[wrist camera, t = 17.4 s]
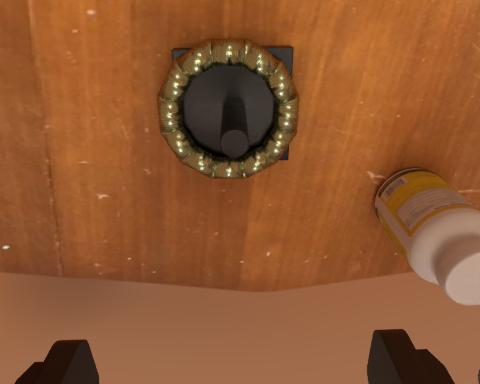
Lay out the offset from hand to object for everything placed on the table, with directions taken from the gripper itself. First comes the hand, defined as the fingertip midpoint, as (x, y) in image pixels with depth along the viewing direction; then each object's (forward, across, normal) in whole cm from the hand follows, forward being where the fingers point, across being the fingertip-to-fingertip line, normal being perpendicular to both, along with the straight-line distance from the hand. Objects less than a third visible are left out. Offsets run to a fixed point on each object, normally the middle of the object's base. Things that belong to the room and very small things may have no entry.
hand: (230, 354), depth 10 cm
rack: (+23, 0, -2) cm, 23 cm away
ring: (+21, 0, -1) cm, 21 cm away
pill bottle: (+23, -16, +8) cm, 29 cm away
